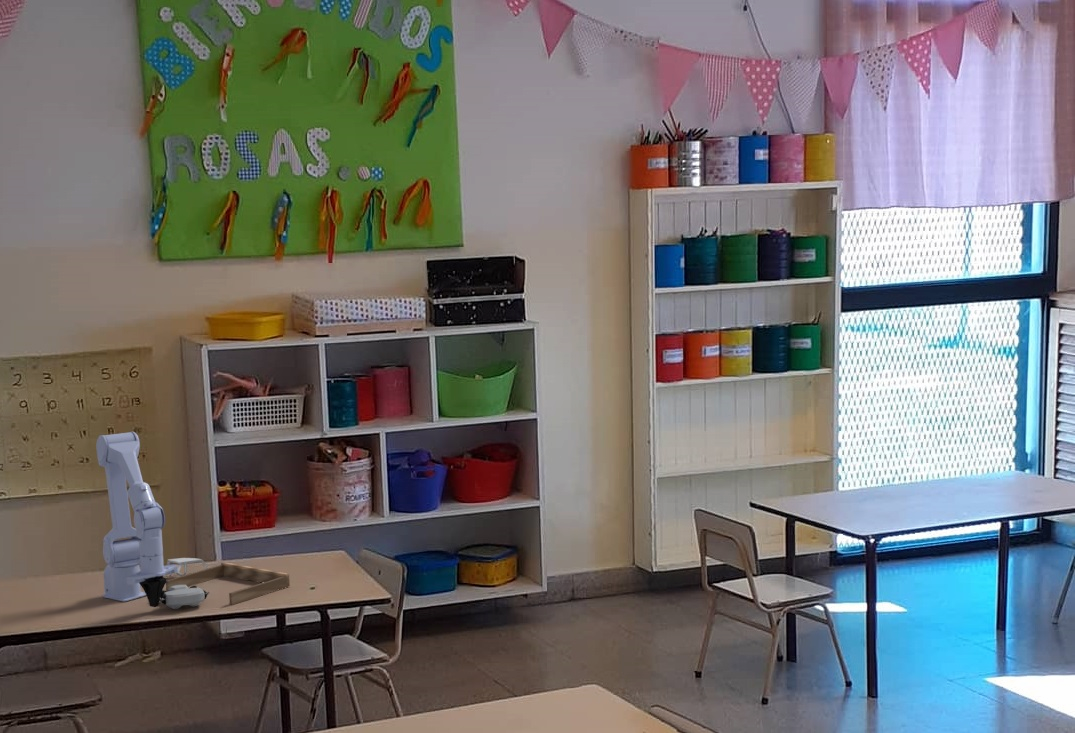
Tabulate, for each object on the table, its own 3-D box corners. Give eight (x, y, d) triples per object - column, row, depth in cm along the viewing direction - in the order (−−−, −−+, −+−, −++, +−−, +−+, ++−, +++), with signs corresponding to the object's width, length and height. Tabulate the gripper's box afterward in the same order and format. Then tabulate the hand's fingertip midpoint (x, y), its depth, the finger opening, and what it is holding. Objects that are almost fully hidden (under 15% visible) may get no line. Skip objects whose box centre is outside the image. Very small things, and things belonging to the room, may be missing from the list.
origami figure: (164, 582, 381) (163, 565, 381) (167, 574, 389) (166, 557, 389) (208, 579, 383) (208, 562, 383) (210, 572, 391) (209, 555, 391)
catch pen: (166, 591, 371) (165, 578, 371) (224, 574, 388) (223, 562, 387) (232, 605, 356) (231, 591, 356) (289, 586, 373) (289, 573, 372)
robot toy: (153, 604, 362) (163, 613, 349) (151, 587, 362) (162, 596, 349) (199, 597, 368) (212, 606, 354) (198, 580, 367) (210, 589, 354)
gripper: (138, 562, 342) (141, 615, 344) (184, 550, 354) (187, 601, 355) (120, 558, 346) (123, 611, 348) (166, 546, 358) (169, 597, 359)
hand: (154, 606), depth 352 cm, fingers closed
